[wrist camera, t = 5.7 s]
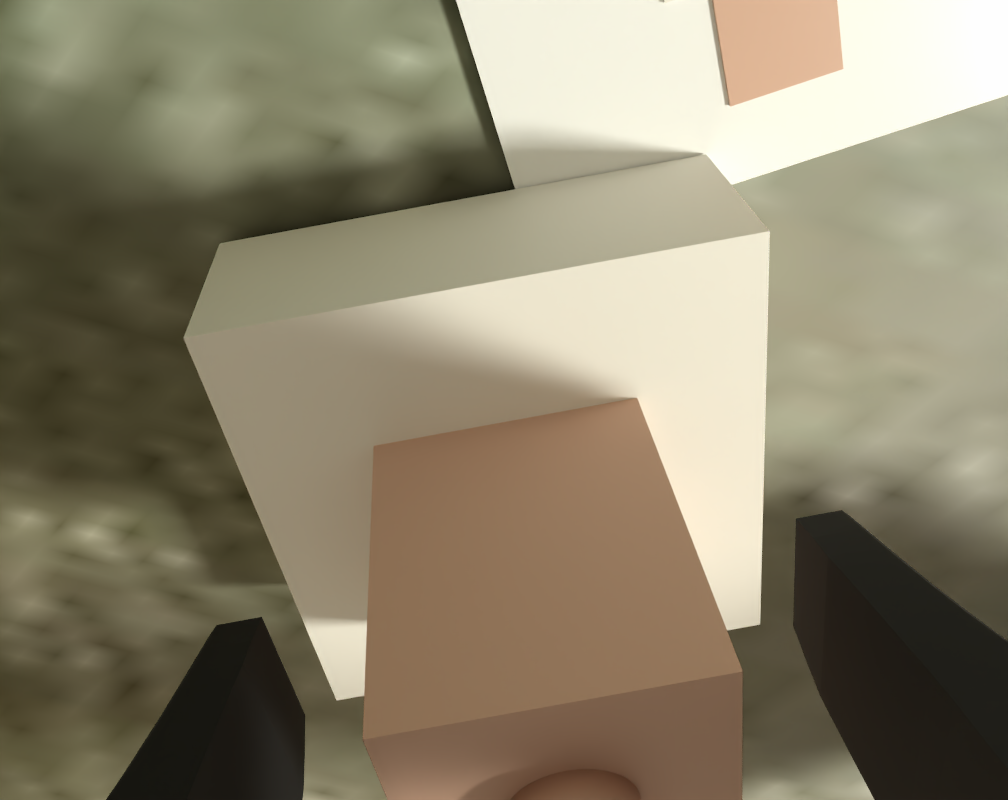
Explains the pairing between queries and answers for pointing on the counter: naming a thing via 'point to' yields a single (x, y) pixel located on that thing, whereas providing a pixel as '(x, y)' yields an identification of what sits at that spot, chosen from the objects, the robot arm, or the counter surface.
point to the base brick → (491, 361)
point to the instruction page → (723, 77)
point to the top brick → (543, 620)
